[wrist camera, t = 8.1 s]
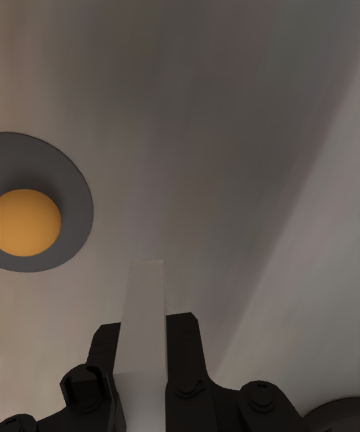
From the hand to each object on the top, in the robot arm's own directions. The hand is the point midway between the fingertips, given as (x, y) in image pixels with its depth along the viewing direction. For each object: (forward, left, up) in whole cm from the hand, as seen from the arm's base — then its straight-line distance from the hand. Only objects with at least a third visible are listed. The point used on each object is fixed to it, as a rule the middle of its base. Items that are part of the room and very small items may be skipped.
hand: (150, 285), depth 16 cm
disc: (0, +12, -15) cm, 19 cm away
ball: (0, +11, -12) cm, 16 cm away
